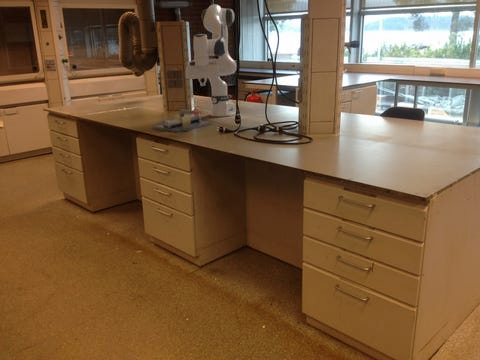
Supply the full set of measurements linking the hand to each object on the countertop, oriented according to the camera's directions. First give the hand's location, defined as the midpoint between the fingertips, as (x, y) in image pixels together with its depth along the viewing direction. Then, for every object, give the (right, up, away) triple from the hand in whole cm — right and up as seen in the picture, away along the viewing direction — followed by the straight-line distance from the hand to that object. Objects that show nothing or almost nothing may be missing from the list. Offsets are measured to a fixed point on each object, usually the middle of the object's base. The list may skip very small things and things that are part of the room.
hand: (202, 85), depth 273 cm
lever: (-8, -18, +4) cm, 20 cm away
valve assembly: (-13, -24, +10) cm, 29 cm away
